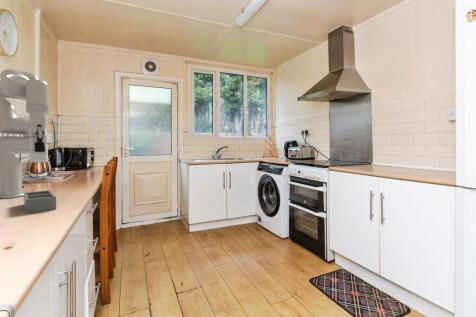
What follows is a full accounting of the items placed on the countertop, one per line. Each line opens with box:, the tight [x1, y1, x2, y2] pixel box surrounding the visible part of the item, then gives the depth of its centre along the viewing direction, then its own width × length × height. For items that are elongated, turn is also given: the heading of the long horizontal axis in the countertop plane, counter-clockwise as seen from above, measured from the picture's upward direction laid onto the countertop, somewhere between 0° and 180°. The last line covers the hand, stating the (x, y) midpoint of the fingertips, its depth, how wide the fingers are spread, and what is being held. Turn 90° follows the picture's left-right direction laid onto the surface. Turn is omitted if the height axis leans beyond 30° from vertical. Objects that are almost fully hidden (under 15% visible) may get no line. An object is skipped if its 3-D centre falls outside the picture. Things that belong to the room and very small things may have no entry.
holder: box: [23, 190, 57, 214], centre depth 111 cm, size 19×10×6 cm, turn 42°
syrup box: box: [29, 128, 49, 163], centre depth 108 cm, size 6×6×14 cm
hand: (38, 151), depth 108 cm, fingers closed on syrup box, 6 cm apart
